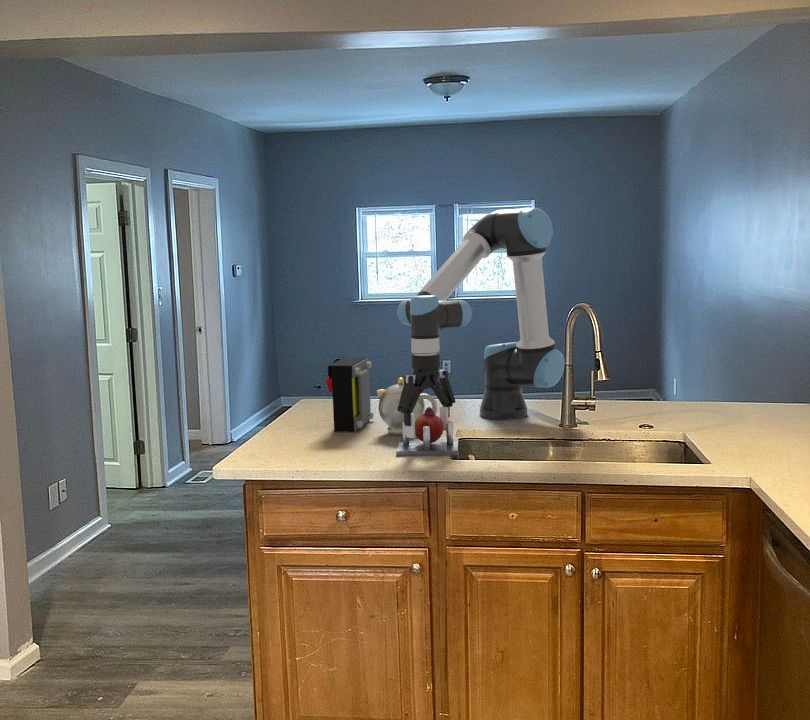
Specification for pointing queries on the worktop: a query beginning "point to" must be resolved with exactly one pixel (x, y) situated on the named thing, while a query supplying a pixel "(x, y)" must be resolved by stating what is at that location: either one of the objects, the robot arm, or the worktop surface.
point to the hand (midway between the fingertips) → (427, 433)
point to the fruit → (431, 421)
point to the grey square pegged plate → (428, 443)
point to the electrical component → (350, 393)
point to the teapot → (390, 406)
